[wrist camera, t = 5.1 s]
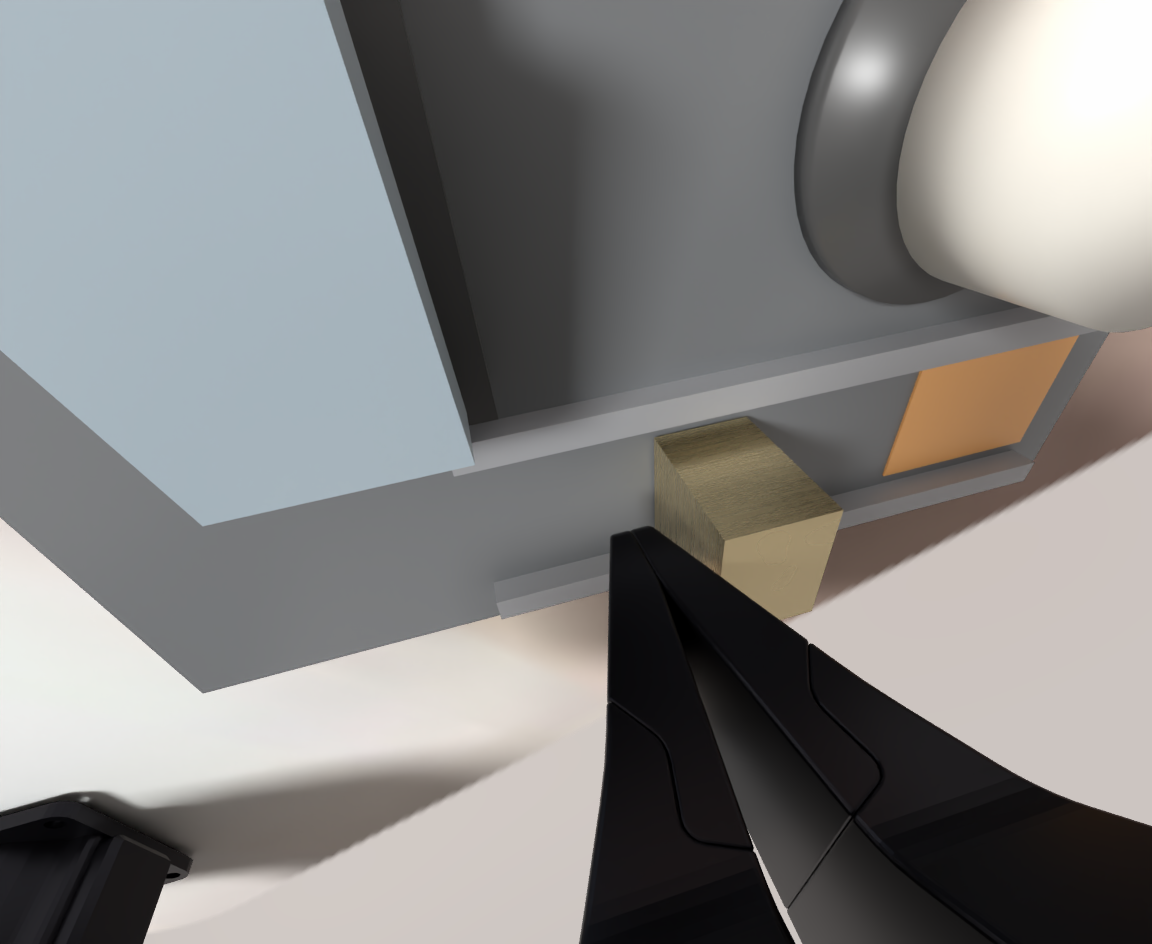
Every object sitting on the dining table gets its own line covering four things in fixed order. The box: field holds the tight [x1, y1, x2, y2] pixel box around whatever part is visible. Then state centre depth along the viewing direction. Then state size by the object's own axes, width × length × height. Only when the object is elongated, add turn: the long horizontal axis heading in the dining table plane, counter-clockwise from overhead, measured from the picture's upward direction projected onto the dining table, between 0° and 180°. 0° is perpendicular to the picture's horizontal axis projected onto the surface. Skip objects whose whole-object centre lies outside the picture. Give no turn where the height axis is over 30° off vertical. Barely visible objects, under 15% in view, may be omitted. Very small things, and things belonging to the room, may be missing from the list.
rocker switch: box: [0, 0, 475, 526], centre depth 4 cm, size 3×5×1 cm, turn 7°
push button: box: [897, 0, 1152, 332], centre depth 6 cm, size 4×4×2 cm
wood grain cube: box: [654, 417, 844, 620], centre depth 9 cm, size 2×3×3 cm
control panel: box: [0, 0, 1109, 693], centre depth 9 cm, size 22×12×3 cm, turn 97°
